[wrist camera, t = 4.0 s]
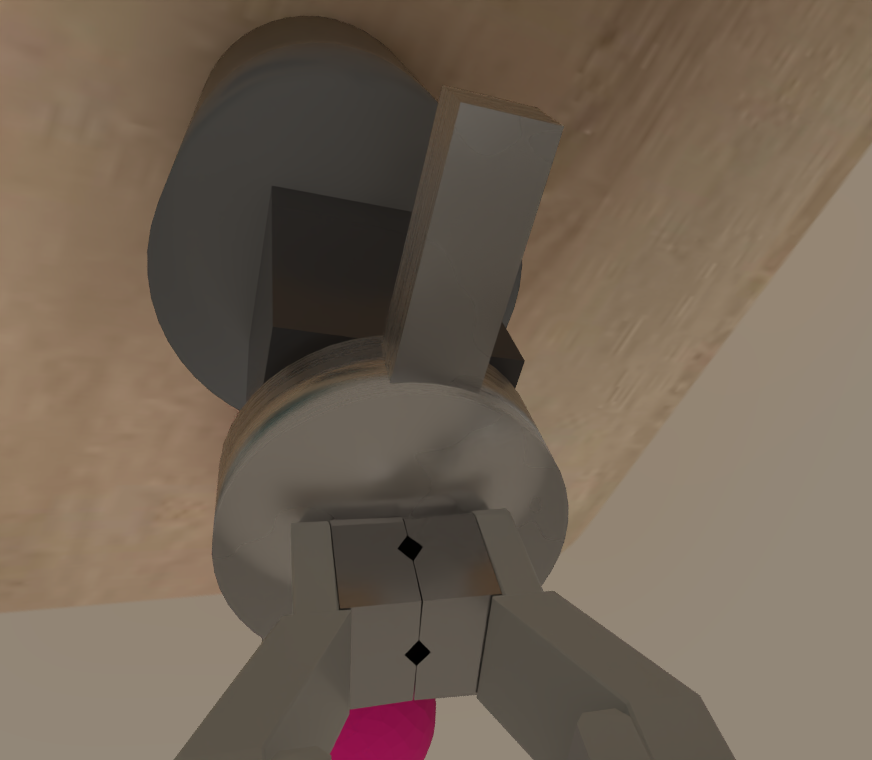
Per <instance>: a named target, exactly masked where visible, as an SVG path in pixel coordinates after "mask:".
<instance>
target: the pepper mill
mask: <svg viewBox="0 0 872 760" xmlns="http://www.w3.org/2000/svg"><path fill="white" fill-rule="evenodd" d="M263 641H264V639H263V638H262V642H263ZM435 711H436V701H435V698H434V699H423V700H414V697H413V700H412V701H405V702H398V703H392V704H385V705H378V706H371V707H364V708H357V709H351V710H350V711H349V716H348V718H347V720H346V722H345V724H344V726H343V728H342V730H341V732H340V734H339V736H338V738H337V740H336V742H335V744H334V746H333V748H332V751H331V753H330V755H331V759H332V760H424V758H425V756H426V754H427V751H428V749H429V746H430V744H431V741H432V737H433V734H434V727H435V713H436V712H435Z"/></svg>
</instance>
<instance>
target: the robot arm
mask: <svg viewBox="0 0 872 760" xmlns="http://www.w3.org/2000/svg"><path fill="white" fill-rule="evenodd" d="M290 532H291V565H292V598H293V615H286V616H282V617H281V618H280V619H279V621H278V622H277V623H276V625H275V626H274V627H273V629H272V630H271V631H270V633H269V634H268V635H267V637H266V638H265V639H264V641H263V642H262V643H261V645H260V646H259V647H258V649H257V650H256V651H255V653H254V654H253V655H252V657H251V658H250V659H249V661H248V662H247V663H246V665H245V666H244V667H243V669H242V670H241V671H240V673H239V674H238V675H237V676H236V678H235V679H234V681H233V682H232V683H231V684H230V686H229V687H228V689H227V690H226V691H225V692H224V694H223V695H222V697H221V698H220V699H219V701H218V702H217V703H216V704H215V706H214V707H213V708H212V710H211V711H210V712H209V714H208V715H207V716H206V718H205V719H204V720H203V722H202V723H201V724H200V726H199V727H198V728H197V730H196V731H195V732H194V734H193V735H192V736H191V738H190V739H189V740H188V742H187V743H186V744H185V746H184V747H183V748H182V750H181V751H180V752H179V754H178V755H177V756H176V758H175V759H174V760H332V759H331V755H330V753H331V751H332V748H333V746H334V744H335V742H336V740H337V738H338V736H339V734H340V732H341V730H342V728H343V726H344V724H345V722H346V720H347V718H348V716H349V711H350V710H351V709H357V708H364V707H371V706H378V705H385V704H392V703H398V702H405V701H412V700H413V697H414V700H423V699H434V698H445V697H456V696H466V695H467V696H468V695H477V699H478V700H479V701H480V702H481V703H482V704H483V705H484V706H485V708H486V709H487V710H488V711H489V712H490V713H491V714H492V715H493V716H494V717H495V718H496V719H497V720H498V722H499V723H501V725H502V726H503V727H504V728H505V729H506V730H507V731H508V733H509V734H510V735H511V736H512V737H513V738H514V739H515V740H516V741H517V742H518V743H519V744H520V746H521V747H522V748H523V749H524V750H525V751H526V752H527V753H528V754H529V755H530V756H531V757H532V759H534V760H736V759H735V758H734V756H733V754H732V752H731V750H730V749H729V747H728V745H727V743H726V741H725V740H724V738H723V736H722V735H721V732H720V731H719V729H718V727H717V726H716V724H715V722H714V720H713V718H712V716H711V715H710V713H709V711H708V710H707V708H706V706H705V704H704V702H703V700H702V699H701V697H700V695H698V694H697V693H696V692H694V691H693V690H691V689H690V688H689V687H687V686H686V685H684V684H683V683H682V682H680V681H679V680H677V679H676V678H675V677H673V676H672V675H670V674H669V673H668V672H666V671H665V670H663V669H662V668H661V667H659V666H658V665H656V664H655V663H654V662H652V661H651V660H649V659H648V658H646V657H645V656H643V654H641V653H640V652H638V651H637V650H636V649H634V648H633V647H631V646H630V645H629V644H627V643H626V642H624V641H623V640H622V639H620V638H619V637H617V636H616V635H615V634H613V633H612V632H610V631H609V630H608V629H606V628H605V627H603V626H602V625H601V624H599V623H598V622H596V621H595V620H594V619H592V618H591V617H590V616H588V615H587V614H585V613H584V612H583V611H581V610H580V609H578V608H577V607H576V606H574V605H573V604H571V603H570V602H569V601H567V600H566V599H564V598H563V597H562V596H560V595H559V594H557V593H556V592H555V591H546V592H543V589H542V587H541V584H540V582H539V580H538V577H537V575H536V573H535V570H534V568H533V565H532V563H531V561H530V558H529V556H528V554H527V551H526V549H525V546H524V544H523V542H522V539H521V537H520V535H519V532H518V530H517V527H516V525H515V523H514V520H513V518H512V515H511V513H510V512H509V511H508V510H507V509H506V508H501V509H489V510H478V511H471V512H461V513H448V514H435V515H422V516H409V517H392V518H370V519H348V520H330V522H328V521H318V522H297V523H291V530H290Z"/></svg>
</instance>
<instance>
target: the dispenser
mask: <svg viewBox="0 0 872 760" xmlns="http://www.w3.org/2000/svg"><path fill="white" fill-rule="evenodd" d="M437 106H438V102H437V101H436V100H435V99H434V98H433V97H432V96H431V94H430V93H429V92H428V91H427V90H426V89H425V88H424V87H423V86H422V85H421V84H420V83H419V81H418V80H417V79H416V78H415V77H414V76H413V75H412V74H411V73H410V72H409V71H408V70H407V68H406V67H405V66H404V65H403V64H402V63H401V62H400V61H399V60H398V59H397V58H396V57H395V55H394V54H393V53H392V52H391V51H390V50H389V49H388V48H386V47H385V46H384V45H383V44H382V43H381V42H380V41H378V40H377V39H375V38H374V37H372V36H371V35H369V34H368V33H366V32H365V31H363V30H361V29H359V28H357V27H355V26H353V25H351V24H348V23H345V22H342V21H339V20H336V19H330V18H325V17H319V16H297V17H288V18H283V19H280V20H276V21H272V22H269V23H267V24H264V25H262V26H260V27H257V28H255V29H254V30H252V31H251V32H249V33H247V34H246V35H244V36H242V37H241V38H240V39H239V40H238V41H236V42H235V43H234V44H233V45H232V46H230V48H229V49H228V50H227V51H226V52H225V53H224V54H223V55H222V56H221V58H220V59H219V60H218V62H217V63H216V65H215V66H214V68H213V69H212V71H211V73H210V75H209V77H208V79H207V81H206V84H205V86H204V88H203V91H202V93H201V96H200V98H199V101H198V103H197V106H196V108H195V111H194V113H193V116H192V118H191V121H190V123H189V126H188V129H187V131H186V134H185V136H184V139H183V141H182V144H181V146H180V149H179V151H178V154H177V156H176V159H175V161H174V164H173V166H172V169H171V171H170V174H169V176H168V179H167V181H166V184H165V187H164V189H163V192H162V194H161V197H160V199H159V202H158V205H157V208H156V211H155V215H154V218H153V221H152V225H151V230H150V236H149V243H148V250H147V254H148V280H149V287H150V293H151V299H152V302H153V305H154V309H155V312H156V315H157V318H158V321H159V323H160V325H161V327H162V330H163V332H164V334H165V336H166V338H167V340H168V342H169V343H170V345H171V347H172V348H173V350H174V351H175V353H176V354H177V356H178V357H179V359H180V360H181V361H182V363H183V364H184V365H185V366H186V367H187V368H188V370H189V371H190V372H191V373H192V374H193V375H194V377H195V378H196V379H198V380H199V381H200V382H201V383H202V384H203V385H204V386H205V387H206V388H207V389H209V390H210V391H211V392H212V393H213V394H215V395H216V396H218V397H219V398H221V399H222V400H223V401H225V402H226V403H228V404H229V405H231V406H233V407H235V408H236V409H238V410H241V409H242V407H243V406H244V405H245V404H246V402H247V401H248V400H249V399H250V397H251V396H252V395H253V394H254V393H255V392H256V391H257V390H258V389H259V388H260V387H261V386H262V385H263V384H264V383H265V382H266V381H267V380H268V379H270V378H271V377H272V376H274V375H275V374H277V373H278V372H279V371H281V370H282V369H283V368H285V367H286V366H288V365H289V364H291V363H293V362H295V361H297V360H298V359H300V358H302V357H304V356H306V355H308V354H310V353H312V352H315V351H317V350H320V349H322V348H325V347H327V346H330V345H334V344H337V343H341V342H344V341H348V340H352V339H358V338H365V337H371V336H383V333H384V328H385V324H386V320H387V316H388V312H389V307H390V303H391V299H392V295H393V291H394V286H395V282H396V278H397V274H398V270H399V265H400V261H401V257H402V253H403V249H404V244H405V240H406V236H407V232H408V228H409V223H410V219H411V215H412V211H413V207H414V202H415V198H416V194H417V190H418V186H419V181H420V177H421V173H422V169H423V165H424V160H425V156H426V152H427V148H428V144H429V139H430V135H431V131H432V127H433V123H434V118H435V114H436V110H437ZM521 270H522V260H521V263H520V266H519V270H518V273H517V276H516V279H515V282H514V285H513V288H512V292H511V295H510V298H509V301H508V304H507V307H506V310H505V314H504V317H503V320H502V323H501V326H500V329H499V332H498V336H497V339H496V342H495V345H494V348H493V351H492V354H491V358H490V361H489V364H490V365H492V366H493V367H495V368H496V369H497V370H498V371H499V372H500V373H501V374H502V375H503V376H504V377H505V378H506V379H507V380H508V381H509V382H510V383H511V384H512V386H513V387H514V388H516V385H517V382H518V379H519V376H520V373H521V370H522V367H523V364H524V359H523V357H522V355H521V354H520V352H519V350H518V348H517V347H516V345H515V343H514V342H513V340H512V338H511V336H510V335H509V333H508V331H507V329H506V327H507V325H508V322H509V320H510V317H511V315H512V312H513V310H514V307H515V303H516V299H517V295H518V291H519V287H520V278H521Z"/></svg>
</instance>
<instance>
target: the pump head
mask: <svg viewBox="0 0 872 760" xmlns="http://www.w3.org/2000/svg"><path fill="white" fill-rule="evenodd" d="M563 128H564V126H563V125H561V124H560V123H559V122H557V121H556V120H554V119H553V118H551V117H550V116H549V115H547V114H546V113H544V112H543V111H541V110H540V109H539V108H537V107H533V106H529V105H525V104H521V103H517V102H512V101H508V100H504V99H500V98H496V97H491V96H487V95H483V94H479V93H475V92H471V91H466V90H462V89H458V88H454V87H450V86H445V85H442V89H441V93H440V97H439V102H438V106H437V110H436V114H435V118H434V123H433V127H432V131H431V135H430V139H429V144H428V148H427V152H426V156H425V160H424V165H423V169H422V173H421V177H420V181H419V186H418V190H417V194H416V198H415V202H414V207H413V211H412V215H411V219H410V223H409V228H408V232H407V236H406V240H405V244H404V249H403V253H402V257H401V261H400V265H399V270H398V274H397V278H396V282H395V286H394V291H393V295H392V299H391V303H390V307H389V312H388V316H387V320H386V324H385V328H384V333H383V336H371V337H365V338H358V339H352V340H348V341H344V342H341V343H337V344H334V345H330V346H327V347H325V348H322V349H320V350H317V351H315V352H312V353H310V354H308V355H306V356H304V357H302V358H300V359H298V360H297V361H295V362H293V363H291V364H289V365H288V366H286V367H285V368H283V369H282V370H281V371H279V372H278V373H277V374H275V375H274V376H272V377H271V378H270V379H268V380H267V381H266V382H265V383H264V384H263V385H262V386H261V387H260V388H259V389H258V390H257V391H256V392H255V393H254V394H253V395H252V396H251V397H250V399H249V400H248V401H247V402H246V404H245V405H244V406H243V407H242V409H241V410H240V412H239V413H238V415H237V417H236V418H235V420H234V422H233V423H232V425H231V427H230V429H229V432H228V434H227V437H226V439H225V442H224V445H223V449H222V454H221V458H220V463H219V474H218V485H217V496H216V506H215V517H214V528H213V542H212V559H213V566H214V573H215V576H216V579H217V582H218V585H219V588H220V590H221V592H222V594H223V596H224V598H225V600H226V601H227V603H228V605H229V606H230V608H231V609H232V610H233V611H234V613H235V614H236V615H237V616H238V618H239V619H240V620H241V621H242V622H243V623H244V624H245V625H246V626H247V627H249V628H250V629H251V630H252V631H253V632H254V633H256V634H257V635H259V636H260V637H261V638H263V639H265V638H266V637H267V635H268V634H269V633H270V631H271V630H272V629H273V627H274V626H275V625H276V623H277V622H278V621H279V619H280V618H281V617H282V616H286V615H293V598H292V565H291V532H290V530H291V523H297V522H318V521H328V522H330V520H348V519H370V518H392V517H409V516H422V515H435V514H448V513H461V512H471V511H478V510H489V509H501V508H506V509H507V510H508V511H509V512H510V513H511V515H512V518H513V520H514V523H515V525H516V527H517V530H518V532H519V535H520V537H521V539H522V542H523V544H524V546H525V549H526V551H527V554H528V556H529V558H530V561H531V563H532V565H533V568H534V570H535V573H536V575H537V577H538V580H539V582H540V584H541V586H542V584H543V583H544V581H545V580H546V578H547V577H548V575H549V574H550V572H551V570H552V569H553V567H554V565H555V563H556V561H557V559H558V557H559V555H560V552H561V549H562V546H563V543H564V540H565V536H566V530H567V525H568V499H567V493H566V487H565V484H564V481H563V478H562V475H561V472H560V470H559V468H558V467H557V465H556V463H555V461H554V459H553V457H552V455H551V453H550V451H549V449H548V448H547V446H546V444H545V442H544V440H543V438H542V436H541V434H540V432H539V430H538V429H537V427H536V425H535V423H534V421H533V419H532V417H531V415H530V413H529V411H528V410H527V408H526V406H525V404H524V402H523V400H522V399H521V397H520V395H519V393H518V392H517V391H516V390H515V388H514V387H513V386H512V384H511V383H510V382H509V381H508V380H507V379H506V378H505V377H504V376H503V375H502V374H501V373H500V372H499V371H498V370H497V369H496V368H495V367H493V366H492V365H490V364H489V361H490V358H491V354H492V351H493V348H494V345H495V342H496V339H497V336H498V332H499V329H500V326H501V323H502V320H503V317H504V314H505V310H506V307H507V304H508V301H509V298H510V295H511V292H512V288H513V285H514V282H515V279H516V276H517V273H518V270H519V266H520V263H521V260H522V257H523V254H524V251H525V248H526V244H527V241H528V238H529V235H530V232H531V229H532V226H533V222H534V219H535V216H536V213H537V210H538V207H539V204H540V200H541V197H542V194H543V191H544V188H545V185H546V182H547V178H548V175H549V172H550V169H551V166H552V163H553V160H554V156H555V153H556V150H557V147H558V144H559V141H560V138H561V134H562V131H563Z"/></svg>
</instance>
